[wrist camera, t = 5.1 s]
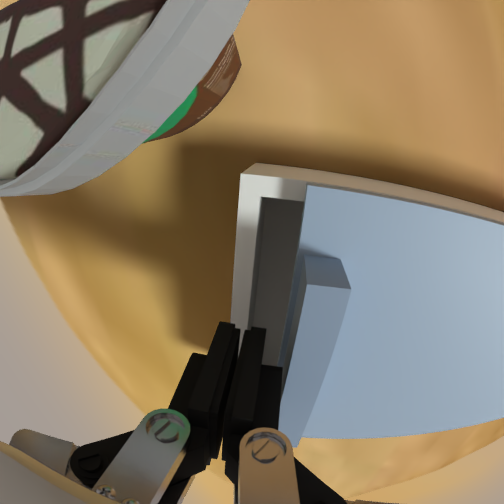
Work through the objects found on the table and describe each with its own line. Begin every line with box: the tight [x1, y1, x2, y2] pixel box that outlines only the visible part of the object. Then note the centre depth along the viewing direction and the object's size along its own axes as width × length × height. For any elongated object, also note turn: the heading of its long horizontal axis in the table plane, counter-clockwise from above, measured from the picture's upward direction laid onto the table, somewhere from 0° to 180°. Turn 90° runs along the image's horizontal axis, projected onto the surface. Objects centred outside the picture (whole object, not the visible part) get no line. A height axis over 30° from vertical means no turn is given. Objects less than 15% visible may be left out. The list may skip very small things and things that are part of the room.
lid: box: [277, 182, 504, 447], centre depth 10 cm, size 12×17×3 cm
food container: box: [0, 0, 250, 197], centre depth 9 cm, size 12×6×10 cm, turn 73°
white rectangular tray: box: [230, 163, 504, 366], centre depth 13 cm, size 12×17×4 cm
